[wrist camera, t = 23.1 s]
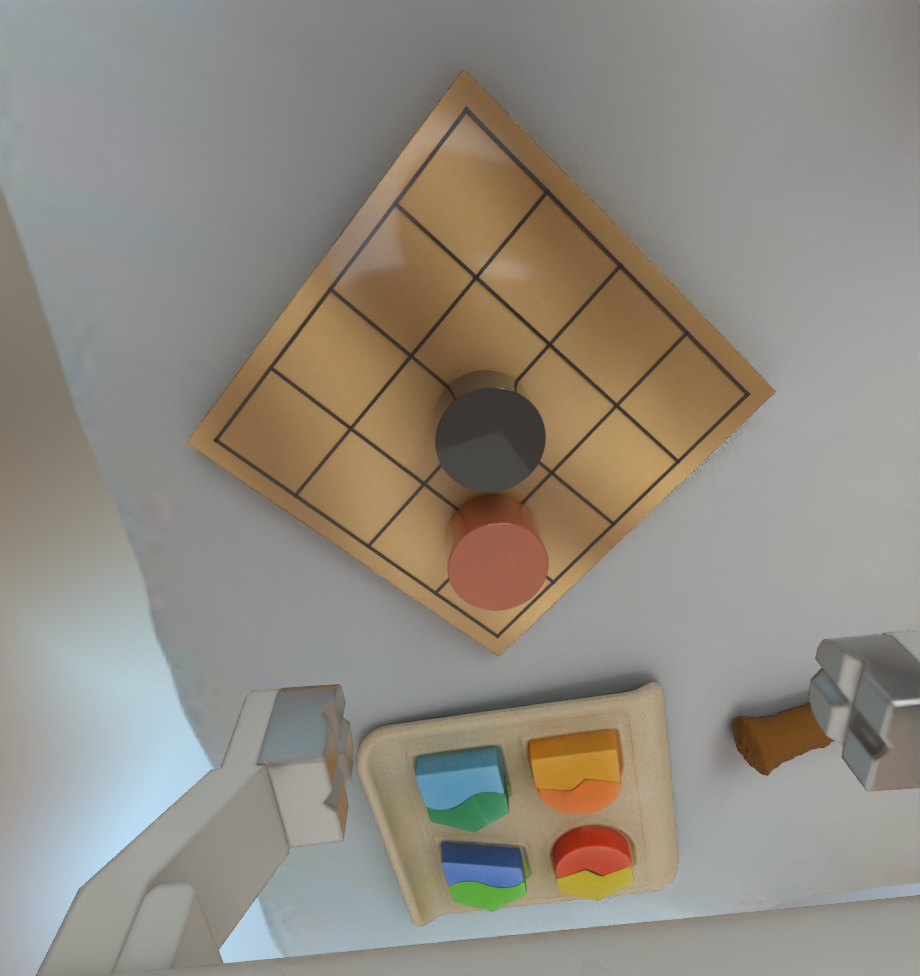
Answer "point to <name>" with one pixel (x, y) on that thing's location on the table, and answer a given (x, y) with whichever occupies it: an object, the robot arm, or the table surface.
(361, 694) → the table surface
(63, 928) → the robot arm
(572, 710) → the puzzle board
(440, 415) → the black stone
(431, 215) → the go board
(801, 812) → the table surface
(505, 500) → the clay cylinder
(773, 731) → the primitive tool
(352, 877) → the table surface
